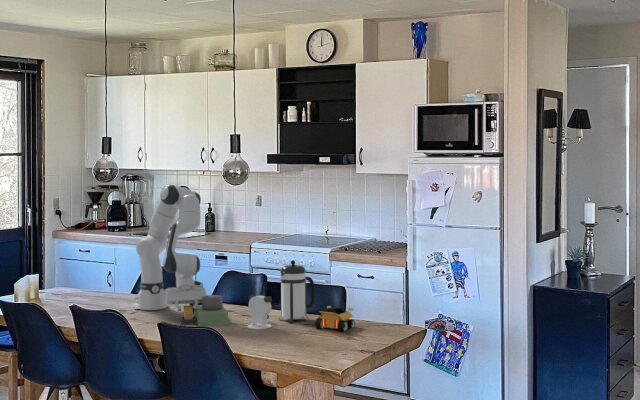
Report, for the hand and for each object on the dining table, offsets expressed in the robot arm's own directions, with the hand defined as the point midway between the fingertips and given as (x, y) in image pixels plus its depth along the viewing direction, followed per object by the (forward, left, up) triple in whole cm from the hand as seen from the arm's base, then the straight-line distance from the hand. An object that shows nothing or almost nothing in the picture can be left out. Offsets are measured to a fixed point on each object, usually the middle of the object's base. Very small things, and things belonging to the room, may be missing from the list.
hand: (187, 309), depth 412 cm
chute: (0, +1, -6) cm, 6 cm away
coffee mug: (-20, +14, -7) cm, 25 cm away
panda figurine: (+28, +27, -7) cm, 39 cm away
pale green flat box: (+1, +7, -6) cm, 10 cm away
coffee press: (+22, +49, -7) cm, 54 cm away
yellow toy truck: (+49, +56, -7) cm, 75 cm away
